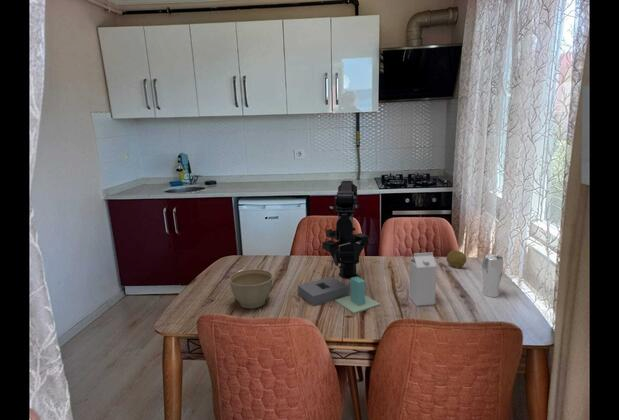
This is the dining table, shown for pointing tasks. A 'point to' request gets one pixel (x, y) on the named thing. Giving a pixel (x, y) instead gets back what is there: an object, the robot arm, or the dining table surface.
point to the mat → (354, 307)
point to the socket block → (323, 291)
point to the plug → (357, 290)
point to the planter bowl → (251, 287)
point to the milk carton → (423, 279)
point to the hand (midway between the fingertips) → (346, 263)
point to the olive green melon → (456, 258)
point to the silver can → (492, 274)
